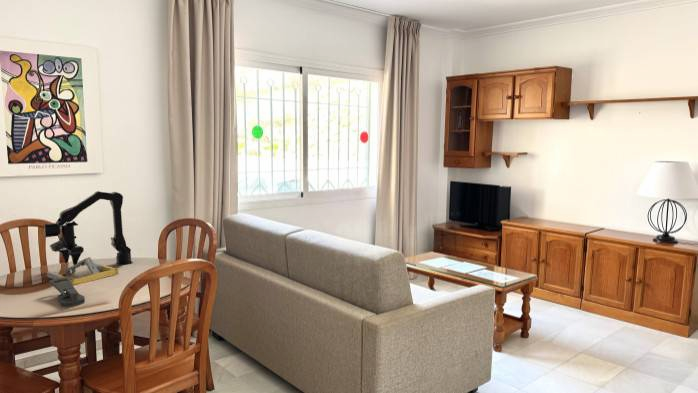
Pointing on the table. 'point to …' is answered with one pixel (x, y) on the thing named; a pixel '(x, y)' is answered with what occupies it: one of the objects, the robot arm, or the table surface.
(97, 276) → the guide channel
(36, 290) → the table surface
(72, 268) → the bracket
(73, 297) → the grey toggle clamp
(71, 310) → the table surface
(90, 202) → the robot arm
